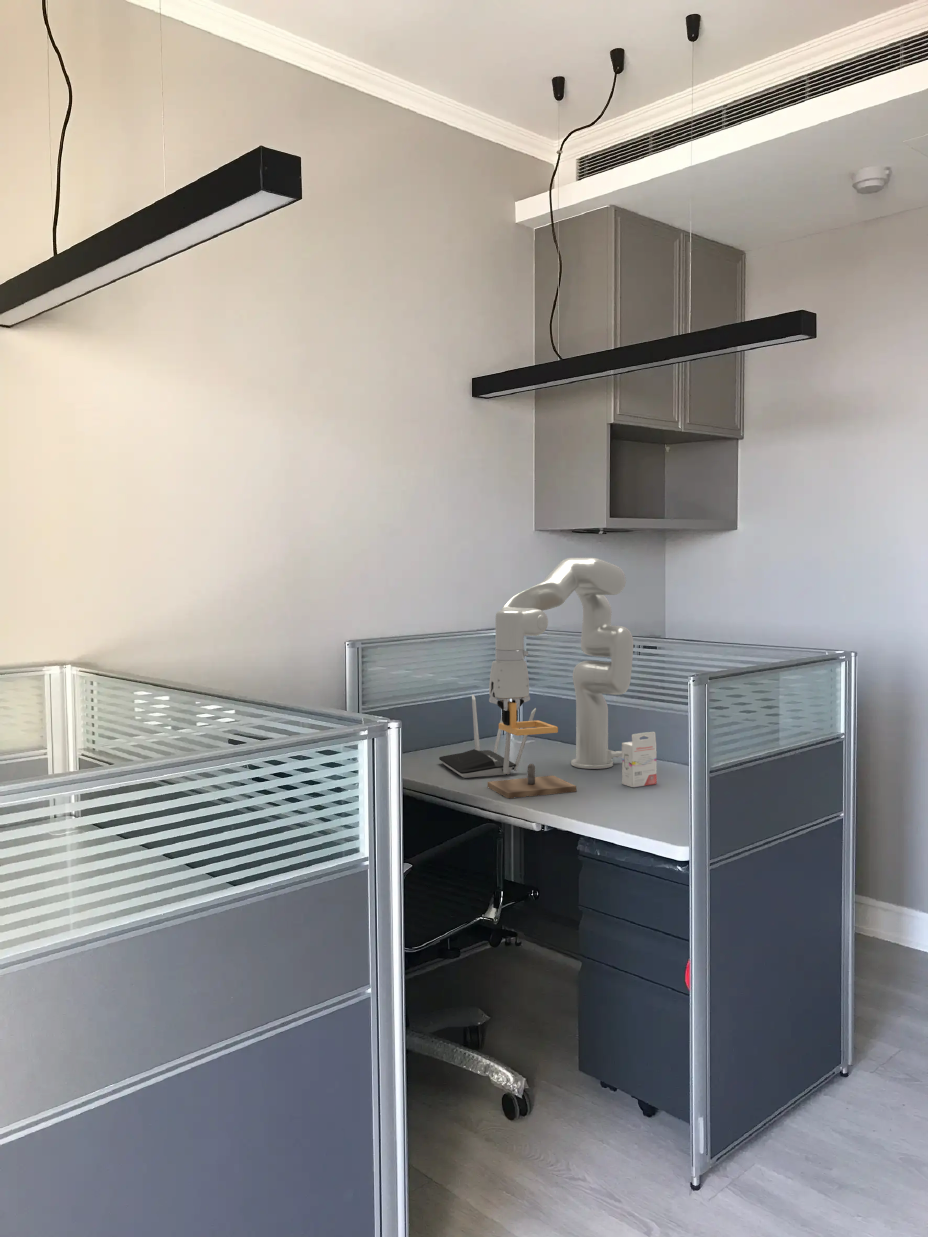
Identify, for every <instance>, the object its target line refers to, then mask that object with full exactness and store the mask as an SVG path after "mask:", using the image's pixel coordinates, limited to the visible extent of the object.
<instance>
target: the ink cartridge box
mask: <svg viewBox="0 0 928 1237" xmlns="http://www.w3.org/2000/svg"><path fill="white" fill-rule="evenodd" d="M643 737H646V738H644V739H643ZM656 737H657V736H656V732H655V731H650V732H649V731H647V732H639V733H633V734H631V741H626V742H621V751H622V757H621V774H622V775H621V779H622V780H621V783H622V785H624V786H626V787H631V788H637V787H645V786H653V785H656V784H658V783H657V779H658V778H657V777H658V776H657V771H658V770H657V766H658V765H657V764H658V763H657V738H656ZM641 738H642V739H641Z"/></svg>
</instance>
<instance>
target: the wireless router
mask: <svg viewBox="0 0 928 1237" xmlns="http://www.w3.org/2000/svg"><path fill="white" fill-rule="evenodd" d="M476 701H477V700H476V697H475V694H471V707H472V708H471V709H472V722H473V723H472V725H473V740H474V741H473V742H474V748H473V749H469V750H467V751H464V752H461V753H454V754H448V755H443V756H439V758H438V759H439V761H441V762H442V764H443V765H444V766H445V767H447V768H448V769H450V770H452V771H453V772H454V773H456V774H458V775H459V776H460V777H462V778H465V779H468V778H477V777H491V776H502V775H503V776H505V775H506V774H507V775H510V774H511V772H512V771H515V772H517V771H518V768H519V765H520V761H521V758H522V755H523V752H524V749H525V746H526V742H527V739H528V736H529V735H523V738H522V741H521V743H520V746H519V750H518V754H517V755H516V760H515V761H514V762H512V761H511V760H510V751H511V736H512V734H511V733H509V732H506V731H505V732H506V734H505V743H504V744H505V745H504V756H501V755H500V754H498V749H499V745H500V740H501V737H502V736H501V735H502V731H503V730H501V729H499V728H498V729H497V734H496V739H495V743H494V746H493V747H494V748H493V751H492V750H489V749H487V750H486V749H484V750H481V748H480V747H481V744H480V736H479V734H480V733H479V724H478V715H477V714H478V713H477V712H478V710H477V702H476ZM508 701H510V699H508ZM536 711H537V708H536V707H535V708H534V709H533V710H531V713H530V715H529V718H528V721H534V717H535V714H536ZM499 723H503V722H502V715H501V716H500V721H499ZM527 728H531V727H527ZM507 775H506V776H507Z"/></svg>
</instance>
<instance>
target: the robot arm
mask: <svg viewBox="0 0 928 1237" xmlns="http://www.w3.org/2000/svg"><path fill="white" fill-rule="evenodd" d="M626 579H627V578H626V575H625V572H624V570H623V569H622V568H621V567H620V566H618V565H616V564H613V563H611V562H609V561H606V560H603V559H600V558H597V557H567V558H564V559H563V560H561V561H559V563H558V564H557V565H556V566H555V567H554V568H553V569H552V570H551V571H550V573H548V575H547V576H545V578H544V579H543V580H542V581H541V582H539V583H538V584H535V585H532V586H531V587H529V588H527V589H524V590H523V591H520V592H519V593H517V594H515V595H514V596H512V597H511V598H509V600H507V602H506V603H505V604H504V605H503V606H502V608H501V609H500V610H498V611H496V613H495V617H494V618H495V660H493V661H492V662H491V667H490V673H489V688H488V689H489V690H488V691H489V692H488V693H489V698H488V702H489V703H491V704H494V705H496V706H498V707H499V708H500V710H501V716H502V722H503V724H504V725H507V726H508V725H510V711H509V710H508V701H509V700H511V702H514V703H516V725H517V722H519V721H518V719H519V717H518V716H519V710H520V708H521V706H523V704H524V703H527V702H529V701H531V696H530V680H529V671H528V666H527V661H526V660H525V657H528V656H529V651H528V650H525V647H524V644H525V639H524V636H527V637H528V636H529V637H530V636H531V637H532V636H533V637H536V636H539V635H542V634H543V633H544V632H546V630H547V628H548V626H549V618H548V616H547V614H546V612H545V611H548V610H551V609H555V608H557V607H560V606H562V605H563V604H564V603H566V601H567V599H568V598H569V597H570V596H571V595H572V594H573V593H574V592H575V593H576V595H577V596H578V598H579V600H580V603H581V605H582V626H581V634H580V638H581V639H580V648H581V651H582V653H584V654H585V655H587V656H591V657H600V658H610V660H611V661H601V660H583V661H581V662H579V663H577V664H576V665H575V666H574V668H573V671H572V682H573V687H574V692H575V708H576V709H575V714H576V715H575V723H576V724H575V729H576V730H575V732H576V733H575V734H576V736H575V746H576V748H575V754H576V755H575V758H573V759H571V762H570V764H571V766H572V767H575V768H579V769H587V770H603V769H608V768H611V767H613V766H614V761H613V760H614V758H622V750H615V751H614V750H612V749H609V707H608V703H607V701H606V699H605V697H604V695H615V696H618V695H624V694H625V693H626V692H627V691H628V690H629V687H630V685H631V678H632V668H633V667H632V666H633V659H634V658H633V657H634V637H633V635H632V632H631V630H629V629H628V628H627V627H625V626H621V625H612V606H611V604H610V602H609V600H608V598H607V597H606V596H615V595H618V594H620V593H623V590H624V589H625V587H626V582H627V580H626ZM508 699H509V700H508ZM612 759H613V760H612Z"/></svg>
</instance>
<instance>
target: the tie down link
mask: <svg viewBox="0 0 928 1237" xmlns="http://www.w3.org/2000/svg"><path fill="white" fill-rule="evenodd" d="M508 710H509V711H510V725H508V726H507V725H504V724H503V723H500V722H499V723H498V729H501V730H502V731H504V732H509V733H511V735H514V736H515V737H518V736H524V735H528V736H532V735H542V734H544V735H545V734H557V733H558V732H559V727H558V726H556V725H553V724H550V723H547V722H545V721H541V720H539V719H538V720H533V721H529V720H525V721H517V725H516V703H514V702H512V700H511V701H510V700H508ZM527 727H530V728H527Z"/></svg>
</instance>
